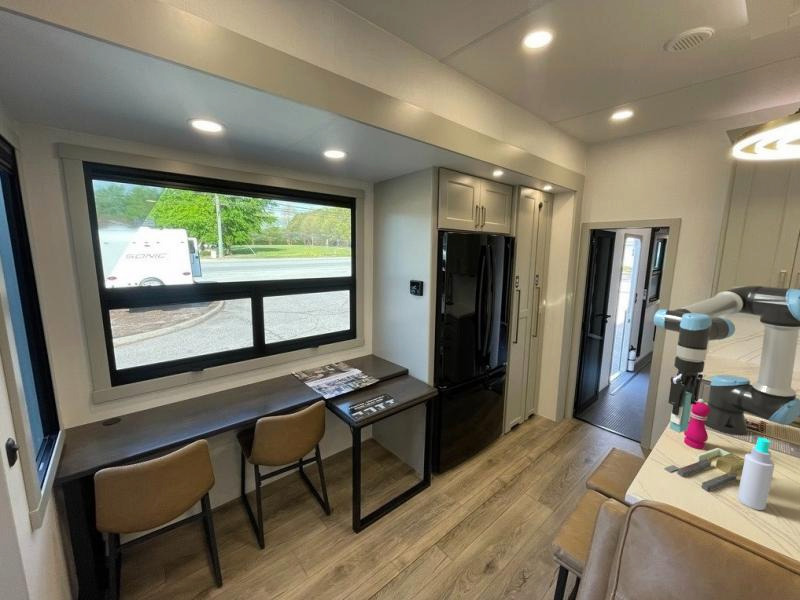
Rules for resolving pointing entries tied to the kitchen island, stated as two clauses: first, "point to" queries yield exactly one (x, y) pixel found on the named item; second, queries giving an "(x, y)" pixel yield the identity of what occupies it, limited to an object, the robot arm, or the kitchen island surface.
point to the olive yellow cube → (726, 464)
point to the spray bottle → (756, 476)
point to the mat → (671, 468)
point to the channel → (710, 483)
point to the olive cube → (737, 459)
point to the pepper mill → (697, 426)
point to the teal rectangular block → (683, 415)
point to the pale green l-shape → (711, 454)
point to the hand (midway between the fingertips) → (679, 421)
